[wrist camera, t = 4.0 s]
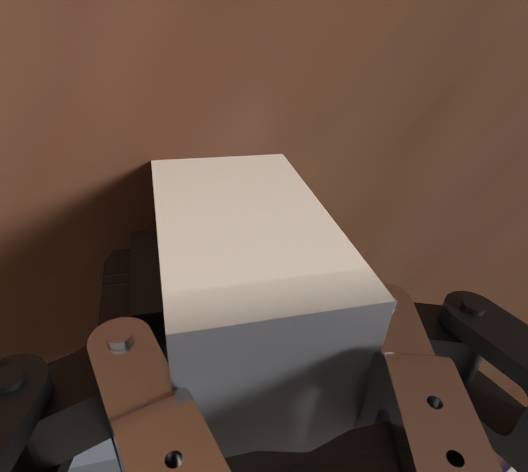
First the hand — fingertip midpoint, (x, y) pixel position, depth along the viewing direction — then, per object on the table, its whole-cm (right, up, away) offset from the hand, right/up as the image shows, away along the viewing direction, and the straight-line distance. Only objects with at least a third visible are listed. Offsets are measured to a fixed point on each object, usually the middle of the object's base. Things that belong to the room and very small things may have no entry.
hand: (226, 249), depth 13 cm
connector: (0, +1, +1) cm, 1 cm away
